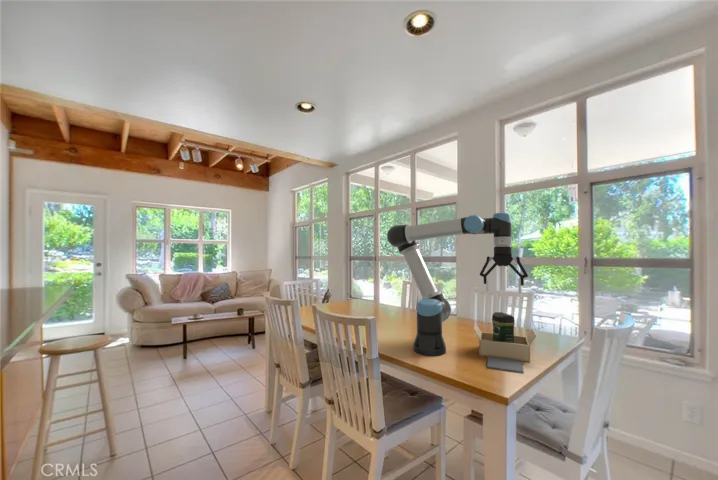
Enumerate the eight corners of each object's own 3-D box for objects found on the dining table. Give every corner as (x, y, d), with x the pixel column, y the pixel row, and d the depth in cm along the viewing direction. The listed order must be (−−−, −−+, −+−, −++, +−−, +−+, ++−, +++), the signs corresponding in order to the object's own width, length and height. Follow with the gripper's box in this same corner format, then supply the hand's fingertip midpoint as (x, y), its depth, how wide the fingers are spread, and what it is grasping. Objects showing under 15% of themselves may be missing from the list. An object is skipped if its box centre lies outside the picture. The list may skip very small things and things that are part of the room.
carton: (473, 354, 138) (473, 329, 139) (475, 345, 152) (475, 322, 152) (537, 363, 128) (536, 336, 128) (533, 352, 142) (532, 327, 142)
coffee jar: (518, 356, 136) (517, 315, 136) (502, 357, 134) (501, 315, 135) (504, 349, 145) (504, 310, 146) (489, 350, 144) (489, 311, 145)
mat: (487, 367, 123) (487, 366, 123) (487, 357, 135) (487, 356, 135) (523, 373, 118) (523, 371, 118) (520, 361, 129) (520, 360, 129)
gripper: (473, 246, 143) (474, 291, 142) (534, 245, 133) (535, 294, 132) (474, 246, 150) (475, 289, 149) (532, 246, 140) (533, 292, 139)
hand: (503, 291), depth 141 cm, fingers open, 13 cm apart
